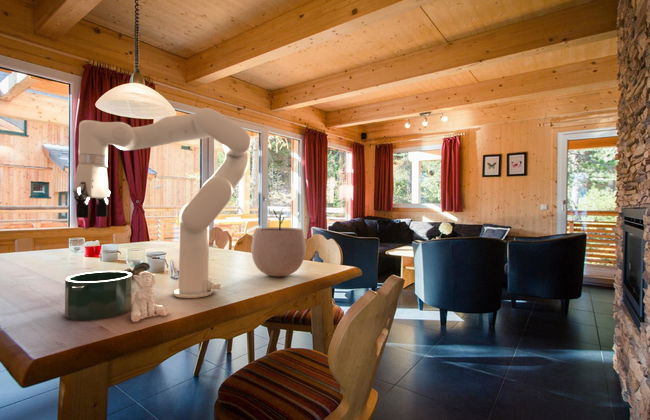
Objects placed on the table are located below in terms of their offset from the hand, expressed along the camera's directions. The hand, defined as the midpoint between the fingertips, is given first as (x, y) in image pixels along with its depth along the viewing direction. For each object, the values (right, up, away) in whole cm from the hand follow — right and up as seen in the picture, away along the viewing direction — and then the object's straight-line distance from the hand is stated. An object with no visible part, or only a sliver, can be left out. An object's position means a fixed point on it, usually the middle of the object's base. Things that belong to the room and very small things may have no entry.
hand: (92, 217), depth 108 cm
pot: (+8, -27, -9) cm, 29 cm away
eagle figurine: (-4, -26, +33) cm, 42 cm away
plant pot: (+51, -27, +47) cm, 75 cm away
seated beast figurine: (+22, -27, -12) cm, 37 cm away
